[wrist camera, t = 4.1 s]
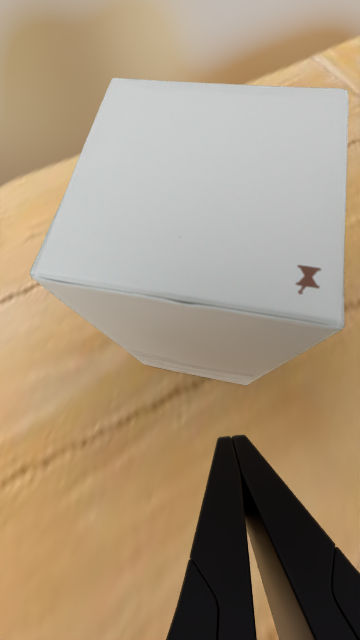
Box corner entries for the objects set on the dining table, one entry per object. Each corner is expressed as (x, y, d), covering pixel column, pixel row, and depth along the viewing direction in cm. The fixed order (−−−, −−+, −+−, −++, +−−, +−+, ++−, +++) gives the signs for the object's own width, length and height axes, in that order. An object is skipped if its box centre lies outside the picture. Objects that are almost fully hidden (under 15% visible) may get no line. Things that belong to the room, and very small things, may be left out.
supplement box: (263, 284, 19) (363, 81, 7) (248, 388, 17) (356, 340, 5) (163, 268, 20) (109, 66, 8) (137, 364, 18) (16, 278, 6)
